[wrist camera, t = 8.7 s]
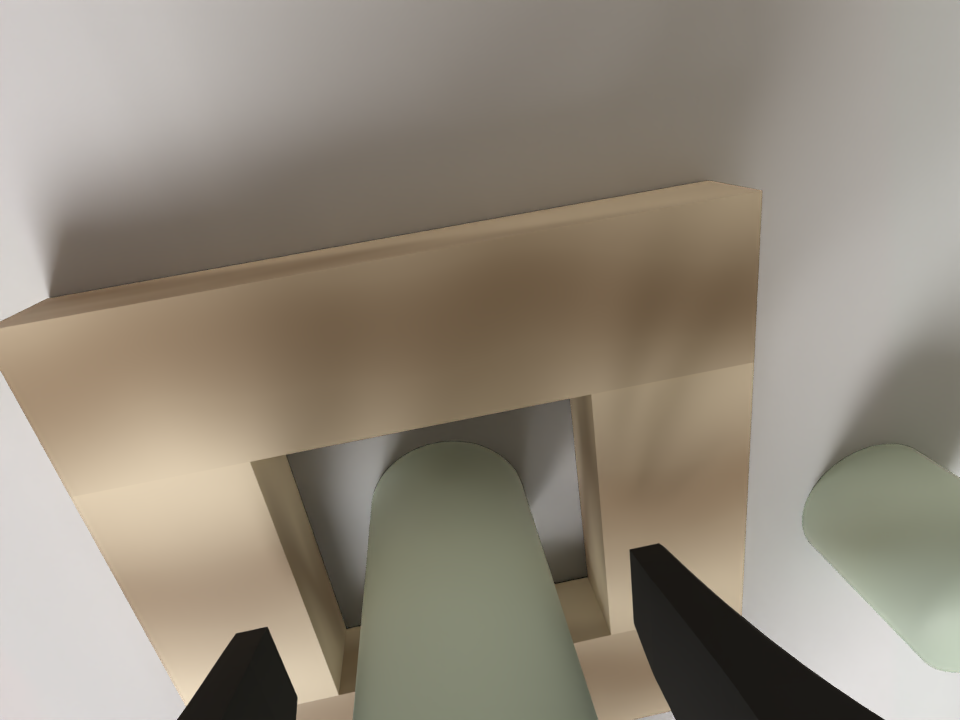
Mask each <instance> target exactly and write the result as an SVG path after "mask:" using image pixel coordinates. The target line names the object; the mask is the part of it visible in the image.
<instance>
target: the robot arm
mask: <svg viewBox="0 0 960 720" xmlns="http://www.w3.org/2000/svg"><path fill="white" fill-rule="evenodd" d="M629 551H630V568H631V585H632V602H633V620H634V625H635V628H636V631H637V633H638V636H639V639H640V641H641V644H642V647H643V649H644V652H645V655H646V657H647V660H648V662H649V665H650V667H651V670H652V673H653V675H654V677H655V679H656V681H657V683H658V685H659V687H660V689H661V691H662V693H663V695H664V697H665V699H666V701H667V703H668V705H669V707H670V709H671V711H672V713H673V715H674V717H675V719H676V720H884V719H883V718H881V717H880V716H878V715H876V714H875V713H873V712H872V711H870V710H869V709H867V708H865V707H864V706H862V705H861V704H859V703H858V702H856V701H855V700H853V699H852V698H850V697H849V696H848V695H846V694H845V693H843V692H842V691H840V690H839V689H837V688H836V687H834V686H833V685H831V684H830V683H828V682H827V681H826V680H824V679H823V678H821V677H820V676H819V675H817V674H816V673H814V672H813V671H812V670H810V669H809V668H807V667H806V666H805V665H803V664H802V663H801V662H799V661H798V660H797V659H795V658H794V657H793V656H791V655H790V654H789V653H787V652H786V651H785V650H783V649H782V648H781V647H780V646H778V645H777V644H776V643H774V642H773V641H772V640H771V639H769V638H768V637H767V636H765V635H764V634H763V633H762V632H760V631H759V630H758V629H757V628H755V627H754V626H753V625H752V624H751V623H749V622H748V621H747V620H746V619H745V618H743V617H742V616H741V615H740V614H739V613H737V612H736V611H735V610H734V609H733V608H731V607H730V606H729V605H728V604H727V603H725V602H724V601H723V600H722V599H721V598H720V597H719V596H717V595H716V594H715V593H714V592H713V591H712V590H711V589H709V588H708V587H707V586H706V585H705V584H704V583H703V582H702V581H701V580H699V579H698V578H697V577H696V576H695V575H694V574H693V573H692V572H691V571H690V570H688V569H687V568H686V567H685V566H684V565H683V564H682V563H681V562H680V561H679V560H678V559H677V558H676V557H675V556H674V555H672V554H671V553H670V552H669V551H668V550H667V549H666V548H665V547H664V546H663V545H661V544H660V543H657V544H653V545H648V546H643V547H639V548H634V549H629ZM297 701H298V697H297V694H296V692H295V690H294V687H293V685H292V683H291V680H290V678H289V676H288V673H287V671H286V669H285V666H284V664H283V662H282V659H281V657H280V655H279V652H278V650H277V648H276V645H275V643H274V640H273V638H272V636H271V633H270V631H269V629H268V627H263V628H259V629H254V630H249V631H245V632H240V633H236V634H235V635H234V637H233V638H232V640H231V641H230V642H229V644H228V645H227V647H226V648H225V650H224V651H223V653H222V654H221V656H220V657H219V659H218V660H217V662H216V663H215V665H214V666H213V668H212V669H211V671H210V672H209V674H208V675H207V677H206V678H205V680H204V681H203V683H202V684H201V685H200V687H199V688H198V690H197V691H196V693H195V694H194V696H193V697H192V699H191V700H190V702H189V703H188V705H187V706H186V708H185V709H184V711H183V712H182V714H181V715H180V716H179V718H178V719H177V720H296V714H297Z"/></svg>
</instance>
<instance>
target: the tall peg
mask: <svg viewBox="0 0 960 720" xmlns="http://www.w3.org/2000/svg"><path fill="white" fill-rule="evenodd" d="M353 720H598V717H597V714H596V711H595V708H594V705H593V702H592V699H591V696H590V693H589V690H588V687H587V683H586V680H585V677H584V674H583V671H582V668H581V665H580V662H579V659H578V656H577V653H576V649H575V646H574V643H573V640H572V637H571V634H570V631H569V628H568V625H567V622H566V619H565V616H564V612H563V609H562V606H561V603H560V600H559V597H558V594H557V591H556V588H555V585H554V582H553V579H552V575H551V572H550V569H549V566H548V563H547V560H546V557H545V554H544V551H543V548H542V545H541V541H540V538H539V535H538V532H537V529H536V526H535V523H534V520H533V517H532V514H531V511H530V508H529V504H528V501H527V498H526V495H525V492H524V489H523V486H522V483H521V480H520V478H519V476H518V474H517V472H516V471H515V470H514V468H513V467H512V466H511V465H510V464H509V463H508V462H507V461H506V460H505V459H504V458H503V457H502V456H500V455H499V454H498V453H496V452H494V451H492V450H490V449H488V448H486V447H483V446H480V445H477V444H473V443H468V442H459V441H448V442H438V443H434V444H429V445H426V446H423V447H420V448H417V449H415V450H413V451H411V452H409V453H407V454H406V455H404V456H403V457H401V458H400V459H398V460H397V461H396V462H395V463H393V464H392V465H391V466H390V467H389V468H388V469H387V470H386V472H385V473H384V474H383V476H382V477H381V479H380V480H379V482H378V484H377V486H376V488H375V491H374V494H373V499H372V505H371V516H370V527H369V539H368V550H367V562H366V573H365V584H364V596H363V607H362V619H361V630H360V641H359V653H358V664H357V676H356V687H355V698H354V710H353Z"/></svg>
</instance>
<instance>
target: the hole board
mask: <svg viewBox="0 0 960 720" xmlns="http://www.w3.org/2000/svg"><path fill="white" fill-rule="evenodd" d="M761 209H762V190H757V189H752V188H746V187H741V186H736V185H730V184H725V183H720V182H714V181H709V180H708V181H702V182H697V183H691V184H685V185H680V186H674V187H669V188H663V189H658V190H652V191H646V192H641V193H635V194H630V195H624V196H618V197H613V198H607V199H602V200H596V201H590V202H585V203H579V204H574V205H568V206H562V207H557V208H551V209H546V210H540V211H534V212H529V213H523V214H518V215H512V216H506V217H501V218H495V219H490V220H484V221H478V222H473V223H467V224H462V225H456V226H450V227H445V228H439V229H434V230H428V231H422V232H417V233H411V234H406V235H400V236H394V237H389V238H383V239H378V240H372V241H366V242H361V243H355V244H350V245H344V246H338V247H333V248H327V249H322V250H316V251H310V252H305V253H299V254H294V255H288V256H283V257H277V258H271V259H266V260H260V261H255V262H249V263H243V264H238V265H232V266H227V267H221V268H215V269H210V270H204V271H199V272H193V273H187V274H182V275H176V276H171V277H165V278H159V279H154V280H148V281H143V282H137V283H131V284H126V285H120V286H115V287H109V288H103V289H98V290H92V291H87V292H81V293H75V294H70V295H64V296H59V297H53V298H47V299H45V300H43V301H41V302H39V303H37V304H35V305H33V306H31V307H29V308H27V309H25V310H23V311H21V312H19V313H17V314H15V315H13V316H11V317H9V318H7V319H5V320H3V321H1V322H0V371H1V372H2V374H3V376H4V378H5V380H6V381H7V383H8V385H9V387H10V389H11V390H12V392H13V394H14V396H15V398H16V399H17V401H18V403H19V405H20V407H21V409H22V410H23V412H24V414H25V416H26V418H27V419H28V421H29V423H30V425H31V427H32V428H33V430H34V432H35V434H36V436H37V437H38V439H39V441H40V443H41V445H42V447H43V448H44V450H45V452H46V454H47V456H48V457H49V459H50V461H51V463H52V465H53V466H54V468H55V470H56V472H57V474H58V476H59V477H60V479H61V481H62V483H63V485H64V486H65V488H66V490H67V492H68V494H69V495H70V497H71V499H72V501H73V503H74V504H75V506H76V508H77V510H78V512H79V514H80V515H81V517H82V519H83V521H84V523H85V524H86V526H87V528H88V530H89V532H90V533H91V535H92V537H93V539H94V541H95V542H96V544H97V546H98V548H99V550H100V552H101V553H102V555H103V557H104V559H105V561H106V562H107V564H108V566H109V568H110V570H111V571H112V573H113V575H114V577H115V579H116V580H117V582H118V584H119V586H120V588H121V590H122V591H123V593H124V595H125V597H126V599H127V600H128V602H129V604H130V606H131V608H132V609H133V611H134V613H135V615H136V617H137V619H138V620H139V622H140V624H141V626H142V628H143V629H144V631H145V633H146V635H147V637H148V638H149V640H150V642H151V644H152V646H153V647H154V649H155V651H156V653H157V655H158V657H159V658H160V660H161V662H162V664H163V666H164V667H165V669H166V671H167V673H168V675H169V676H170V678H171V680H172V682H173V684H174V685H175V687H176V689H177V691H178V693H179V695H180V696H181V698H182V700H183V702H184V704H185V705H186V706H187V705H188V703H189V702H190V700H191V699H192V697H193V696H194V694H195V693H196V691H197V690H198V688H199V687H200V685H201V684H202V683H203V681H204V680H205V678H206V677H207V675H208V674H209V672H210V671H211V669H212V668H213V666H214V665H215V663H216V662H217V660H218V659H219V657H220V656H221V654H222V653H223V651H224V650H225V648H226V647H227V645H228V644H229V642H230V641H231V640H232V638H233V637H234V635H235V634H236V633H240V632H245V631H249V630H254V629H259V628H263V627H268V629H269V631H270V633H271V636H272V638H273V640H274V643H275V645H276V648H277V650H278V652H279V655H280V657H281V659H282V662H283V664H284V666H285V669H286V671H287V673H288V676H289V678H290V680H291V683H292V685H293V687H294V690H295V692H296V694H297V697H298V701H297V714H296V720H353V710H354V698H355V687H356V676H357V664H358V653H359V641H360V630H361V626H358V627H354V628H349V629H346V626H345V624H344V621H343V618H342V615H341V612H340V609H339V606H338V603H337V601H336V598H335V595H334V592H333V589H332V586H331V583H330V580H329V578H328V575H327V572H326V569H325V566H324V563H323V560H322V557H321V555H320V552H319V549H318V546H317V543H316V540H315V537H314V534H313V532H312V529H311V526H310V523H309V520H308V517H307V514H306V511H305V509H304V506H303V503H302V500H301V497H300V494H299V491H298V488H297V486H296V483H295V480H294V477H293V474H292V471H291V468H290V466H289V463H288V460H287V457H286V455H287V454H292V453H297V452H302V451H307V450H312V449H317V448H322V447H327V446H332V445H337V444H342V443H348V442H353V441H358V440H363V439H368V438H373V437H378V436H383V435H388V434H393V433H398V432H403V431H408V430H413V429H418V428H424V427H429V426H434V425H439V424H444V423H449V422H454V421H459V420H464V419H469V418H474V417H479V416H484V415H489V414H494V413H499V412H505V411H510V410H515V409H520V408H525V407H530V406H535V405H540V404H545V403H550V402H555V401H560V400H565V399H570V405H571V415H572V425H573V435H574V445H575V455H576V465H577V475H578V485H579V495H580V505H581V515H582V525H583V535H584V545H585V555H586V565H587V575H588V577H586V578H582V579H577V580H572V581H568V582H563V583H558V584H554V585H555V588H556V591H557V594H558V597H559V600H560V603H561V606H562V609H563V612H564V616H565V619H566V622H567V625H568V628H569V631H570V634H571V637H572V640H573V643H574V646H575V649H576V653H577V656H578V659H579V662H580V665H581V668H582V671H583V674H584V677H585V680H586V683H587V687H588V690H589V693H590V696H591V699H592V702H593V705H594V708H595V711H596V714H597V717H598V720H634V719H639V718H643V717H647V716H652V715H656V714H660V713H665V712H669V711H671V709H670V707H669V705H668V703H667V701H666V699H665V697H664V695H663V693H662V691H661V689H660V687H659V685H658V683H657V681H656V679H655V677H654V675H653V673H652V670H651V667H650V665H649V662H648V660H647V657H646V655H645V652H644V649H643V647H642V644H641V641H640V639H639V636H638V633H637V631H636V628H635V625H634V620H633V602H632V585H631V568H630V551H629V549H634V548H639V547H643V546H648V545H653V544H657V543H660V544H661V545H663V546H664V547H665V548H666V549H667V550H668V551H669V552H670V553H671V554H672V555H674V556H675V557H676V558H677V559H678V560H679V561H680V562H681V563H682V564H683V565H684V566H685V567H686V568H687V569H688V570H690V571H691V572H692V573H693V574H694V575H695V576H696V577H697V578H698V579H699V580H701V581H702V582H703V583H704V584H705V585H706V586H707V587H708V588H709V589H711V590H712V591H713V592H714V593H715V594H716V595H717V596H719V597H720V598H721V599H722V600H723V601H724V602H725V603H727V604H728V605H729V606H730V607H731V608H733V609H734V610H735V611H736V612H737V613H739V614H740V615H741V616H742V597H743V576H744V556H745V536H746V515H747V495H748V474H749V454H750V434H751V413H752V393H753V372H754V352H755V332H756V311H757V291H758V271H759V250H760V230H761Z"/></svg>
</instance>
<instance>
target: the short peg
mask: <svg viewBox="0 0 960 720" xmlns="http://www.w3.org/2000/svg"><path fill="white" fill-rule="evenodd" d="M802 526H803V531H804V534H805V536H806V538H807V540H808V542H809V543H810V544H811V545H812V546H813V547H814V548H815V549H816V550H817V551H818V552H819V553H820V554H821V555H822V556H823V557H824V559H825V560H826V561H827V562H828V563H829V564H830V565H831V566H832V567H833V568H834V569H835V570H836V571H837V572H838V573H839V574H840V575H841V576H842V577H843V578H844V579H845V580H846V581H847V582H848V583H849V584H850V585H851V586H852V587H853V589H854V590H855V591H856V592H857V593H858V594H859V595H860V596H861V597H862V598H863V599H864V600H865V601H866V602H867V603H868V604H869V605H870V606H871V607H872V608H873V609H874V610H875V611H876V612H877V613H878V614H879V615H880V616H881V617H882V619H883V620H884V621H885V622H886V623H887V624H888V625H889V626H890V627H891V628H892V629H893V630H894V631H895V632H896V633H897V634H898V635H899V636H900V637H901V638H902V639H903V640H904V641H905V642H906V643H907V644H908V645H909V646H910V648H911V649H912V650H913V651H914V652H915V653H916V654H917V655H918V656H919V657H920V658H921V659H922V660H923V661H924V662H925V663H927V664H928V665H929V666H931V667H933V668H935V669H937V670H941V671H945V672H952V673H960V478H959V477H958V476H956V475H955V474H953V473H951V472H950V471H948V470H947V469H945V468H944V467H942V466H940V465H939V464H937V463H936V462H934V461H933V460H931V459H929V458H928V457H926V456H925V455H923V454H922V453H920V452H918V451H917V450H915V449H913V448H911V447H909V446H905V445H901V444H881V445H875V446H871V447H868V448H865V449H862V450H860V451H857V452H855V453H853V454H851V455H849V456H847V457H846V458H844V459H843V460H841V461H840V462H838V463H837V464H836V465H834V466H833V467H832V468H831V469H830V470H828V471H827V472H826V473H825V474H824V475H823V476H822V477H821V479H820V480H819V481H818V482H817V484H816V485H815V486H814V488H813V489H812V491H811V493H810V494H809V496H808V499H807V501H806V503H805V506H804V510H803V516H802Z"/></svg>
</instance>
